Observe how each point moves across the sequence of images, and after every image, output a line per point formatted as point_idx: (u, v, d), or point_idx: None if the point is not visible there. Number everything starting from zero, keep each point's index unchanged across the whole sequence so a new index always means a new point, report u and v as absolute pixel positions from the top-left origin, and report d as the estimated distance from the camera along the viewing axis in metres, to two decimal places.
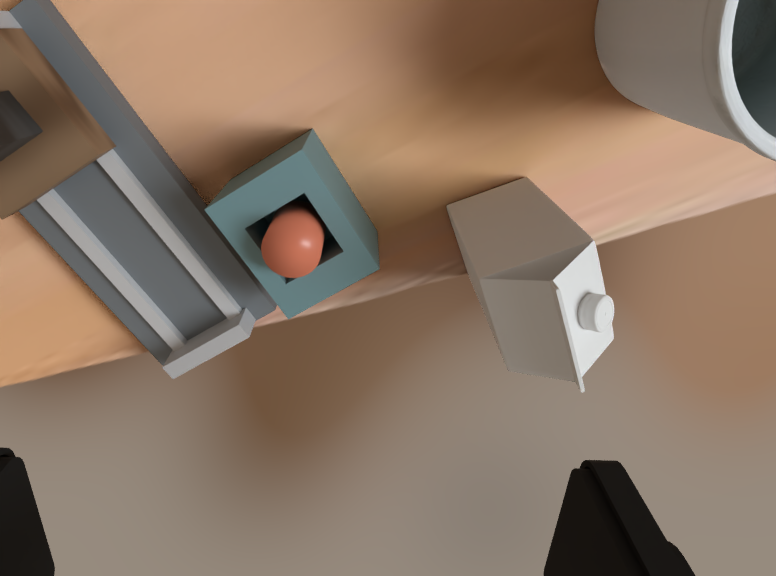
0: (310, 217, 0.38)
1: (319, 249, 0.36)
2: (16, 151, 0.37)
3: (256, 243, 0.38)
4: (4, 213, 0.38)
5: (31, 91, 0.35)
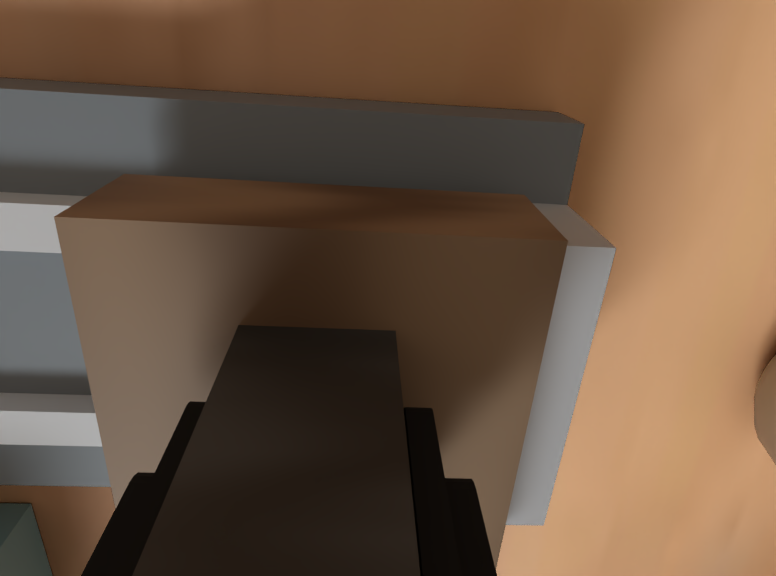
0: None
1: None
2: None
3: None
4: (75, 245, 0.10)
5: None
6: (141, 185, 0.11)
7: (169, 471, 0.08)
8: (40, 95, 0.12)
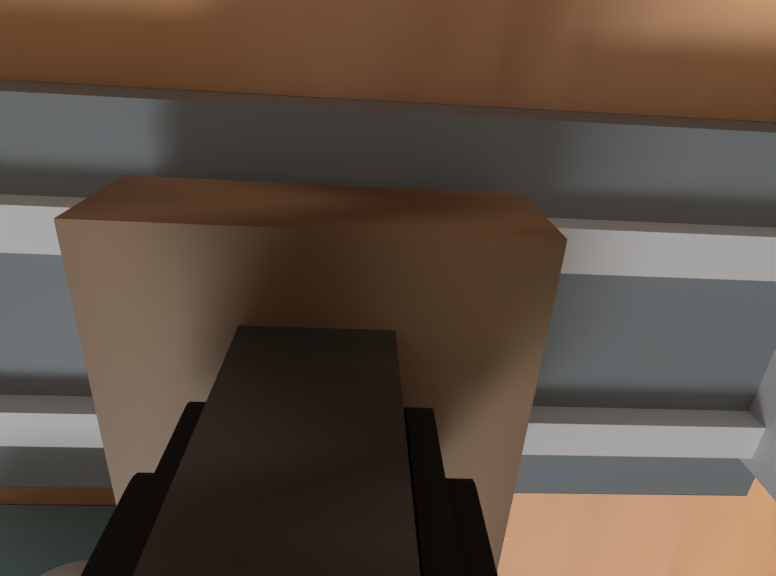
0: None
1: None
2: None
3: None
4: (75, 246, 0.10)
5: None
6: (140, 186, 0.11)
7: (169, 471, 0.08)
8: (407, 117, 0.13)
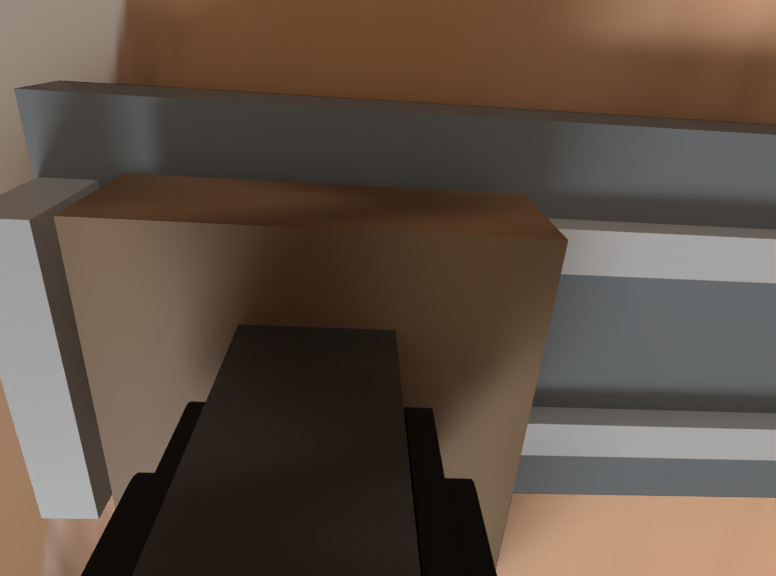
0: None
1: None
2: None
3: None
4: (75, 244, 0.10)
5: None
6: (141, 184, 0.11)
7: (169, 471, 0.08)
8: (678, 133, 0.13)
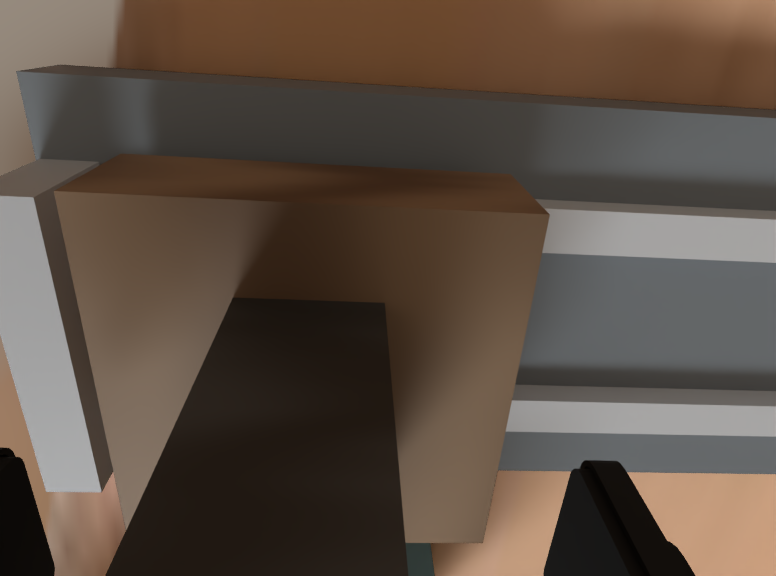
0: None
1: None
2: None
3: None
4: (74, 219, 0.10)
5: None
6: (137, 163, 0.12)
7: None
8: (663, 115, 0.14)
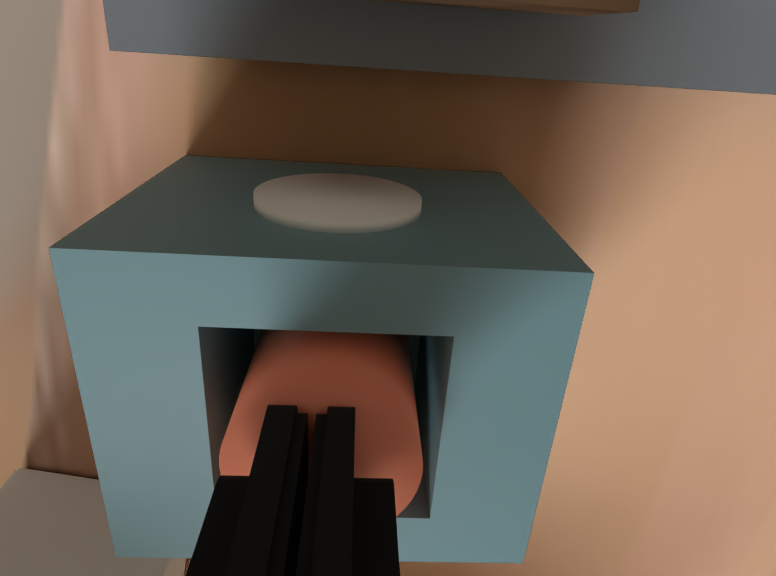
0: None
1: None
2: None
3: (383, 328, 0.11)
4: None
5: None
6: None
7: (263, 474, 0.08)
8: None
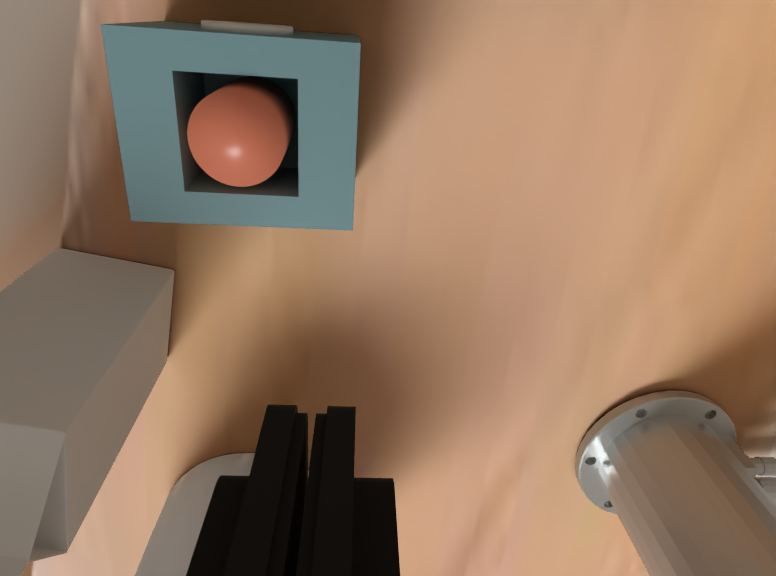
0: None
1: (217, 178, 0.23)
2: None
3: (263, 76, 0.22)
4: None
5: None
6: None
7: (263, 474, 0.08)
8: None
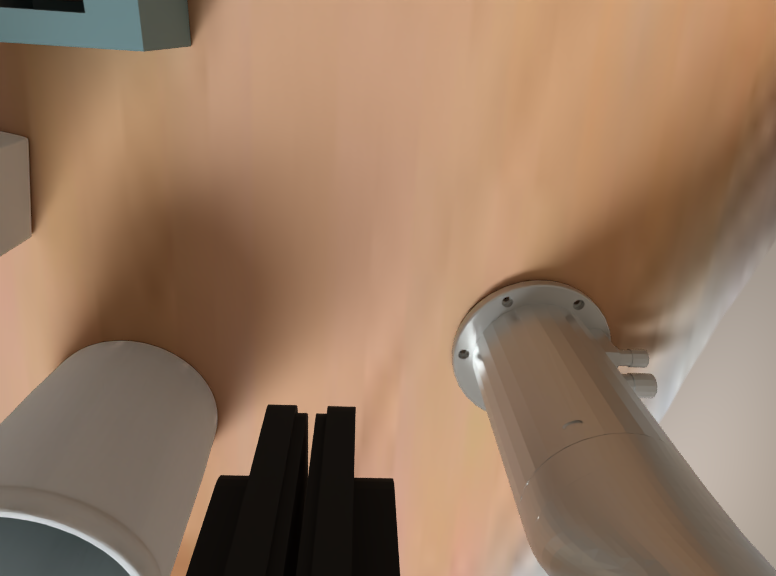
0: None
1: None
2: None
3: None
4: None
5: None
6: None
7: (263, 475, 0.08)
8: None
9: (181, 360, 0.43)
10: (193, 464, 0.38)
